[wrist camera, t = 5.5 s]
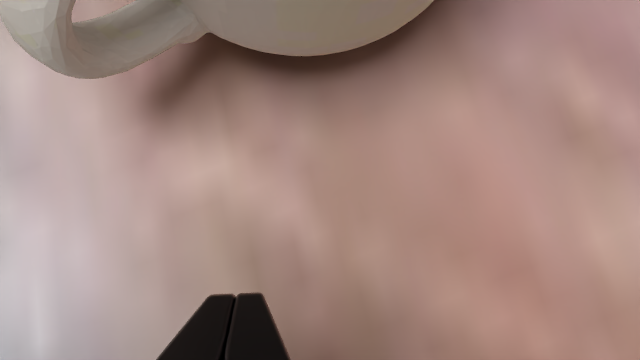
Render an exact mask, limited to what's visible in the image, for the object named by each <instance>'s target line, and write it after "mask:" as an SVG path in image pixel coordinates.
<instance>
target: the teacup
mask: <svg viewBox="0 0 640 360" xmlns="http://www.w3.org/2000/svg"><path fill="white" fill-rule="evenodd" d="M75 1H76V0H0V16H1V19H2V22H3V23H4V25H5V26H6V28H7V30H8V31H9V33H10V34H11V36H12V38H13V39H14V41H15V42H16V43H17V44H19V45H20V46H21V47H22V48H23V49H24V50H25V51H26V52H27V53H28V54H29V55H30V56H32V57H33V58H35V59H36V60H38V61H40V62H41V63H43V64H44V65H46V66H48V67H49V68H51V69H52V70H54V71H56V72H59V73H62V74H64V75H67V76H71V77H75V78H82V79H96V78H104V77H107V76H111V75H115V74H118V73H122V72H126V71H128V70H130V69H132V68H134V67H136V66H138V65H140V64H142V63H144V62H146V61H148V60H150V59H152V58H154V57H155V56H157V55H159V54H161V53H162V52H164V51H166V50H168V49H169V48H171V47H173V46H175V45H176V44H178V43H181V44H188V43H193V42H195V41H196V40H198V39H199V38H201V37H202V36H203V35H204V34H206V33H210V32H211V33H213V34H215V35H216V36H218V37H220V38H222V39H225V40H227V41H230V42H233V43H235V44H238V45H240V46H243V47H246V48H250V49H254V50H257V51H261V52H266V53H273V54H280V55H288V56H316V55H326V54H332V53H338V52H343V51H348V50H351V49H354V48H358V47H361V46H364V45H366V44H369V43H371V42H374V41H376V40H379V39H381V38H383V37H385V36H387V35H389V34H391V33H393V32H395V31H396V30H398V29H399V28H400V27H402V26H403V25H405V24H406V23H408V22H409V21H411V20H412V19H414V18H415V17H416V16H417V15H419V14H420V13H421V12H422V11H424V10H425V9H426V8H427V7H428V6H429V5H430V4H431V3H432V2H433V1H434V0H136V1H134V2H132V3H130V4H128V5H126V6H124V7H122V8H120V9H118V10H116V11H114V12H112V13H110V14H107V15H104V16H102V17H99V18H95V19H91V20H87V21H83V22H75V23H72V20H71V15H72V10H73V6H74V3H75Z"/></svg>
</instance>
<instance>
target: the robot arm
mask: <svg viewBox="0 0 640 360" xmlns="http://www.w3.org/2000/svg"><path fill="white" fill-rule="evenodd" d="M156 360H291V359H290V357H289V355H288V352H287V350H286V348H285V345H284V343H283V340H282V338H281V336H280V333H279V331H278V329H277V326H276V324H275V322H274V319H273V317H272V314H271V312H270V310H269V307H268V305H267V303H266V300H265V298H264V296H263V294H261V293H240V294H238V295H237V296H235V295H233V294H214V295H210V296H209V297H207V298H206V300H205V301H204V302H203V303H202V305H201V306H200V307H199V308H198V309H197V311H196V312H195V313H194V314H193V315H192V317H191V318H190V319H189V320H188V322H187V323H186V324H185V325H184V326H183V328H182V329H181V330H180V331H179V332H178V334H177V335H176V336H175V337H174V339H173V340H172V341H171V342H170V343H169V345H168V346H167V347H166V348H165V350H164V351H163V352H162V353H161V354H160V356H159V357H158V358H157V359H156Z"/></svg>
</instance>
